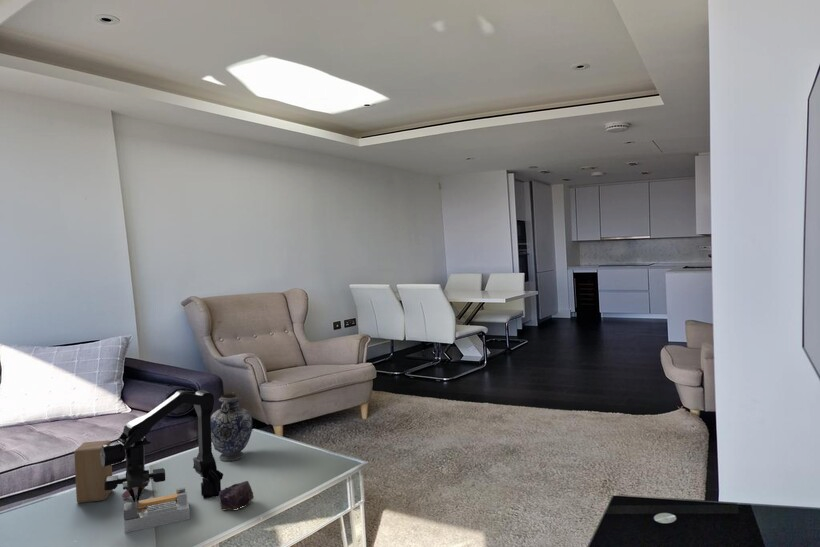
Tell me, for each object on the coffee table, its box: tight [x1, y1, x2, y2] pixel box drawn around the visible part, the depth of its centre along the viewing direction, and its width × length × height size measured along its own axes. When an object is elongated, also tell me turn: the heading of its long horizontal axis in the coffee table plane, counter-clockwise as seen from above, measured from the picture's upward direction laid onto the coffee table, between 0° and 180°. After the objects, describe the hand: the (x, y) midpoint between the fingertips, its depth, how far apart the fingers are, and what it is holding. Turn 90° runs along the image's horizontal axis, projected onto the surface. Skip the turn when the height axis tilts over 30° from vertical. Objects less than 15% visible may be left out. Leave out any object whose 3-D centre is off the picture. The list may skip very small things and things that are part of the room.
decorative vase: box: [211, 391, 253, 463], centre depth 248 cm, size 21×19×28 cm
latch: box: [123, 500, 138, 521], centre depth 187 cm, size 4×6×3 cm, turn 25°
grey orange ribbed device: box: [123, 487, 191, 534], centre depth 194 cm, size 20×14×7 cm
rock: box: [218, 480, 255, 511], centre depth 200 cm, size 12×9×10 cm
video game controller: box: [121, 479, 151, 499], centre depth 213 cm, size 10×5×7 cm, turn 169°
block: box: [73, 440, 113, 504], centre depth 211 cm, size 10×10×20 cm
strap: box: [137, 492, 182, 507], centre depth 195 cm, size 19×3×1 cm, turn 115°
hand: (136, 503), depth 193 cm, fingers closed, pressing on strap
